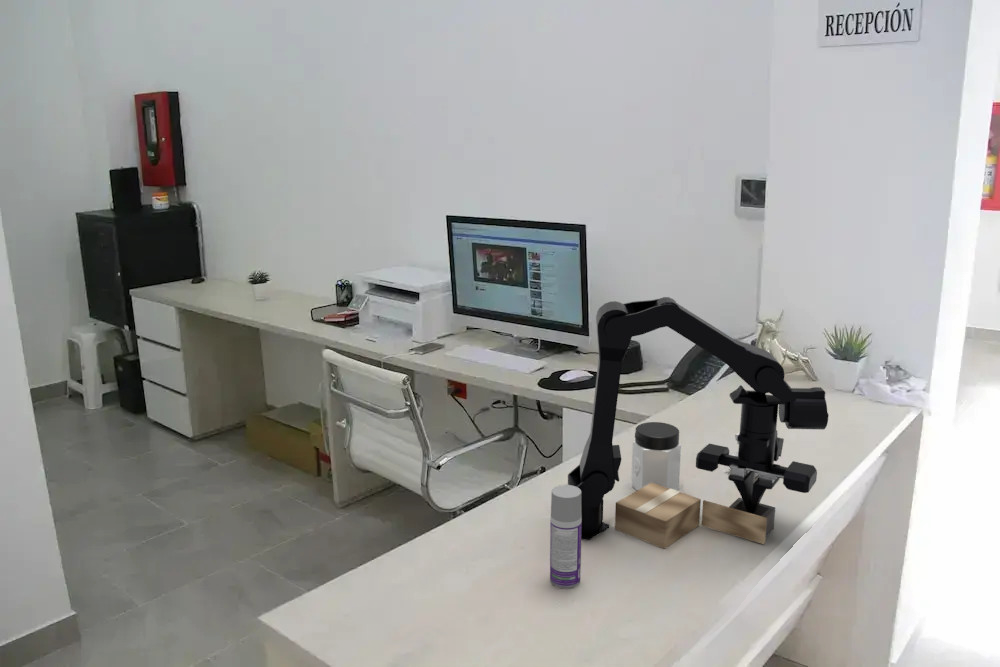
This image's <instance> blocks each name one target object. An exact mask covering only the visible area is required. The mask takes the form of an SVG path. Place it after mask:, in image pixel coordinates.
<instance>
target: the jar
mask: <svg viewBox="0 0 1000 667" xmlns="http://www.w3.org/2000/svg"><path fill="white" fill-rule="evenodd" d="M634 438H635V439H634V440H632V456H631V458H632V459H631V460H632V461H631V482H630V484H631V486H632V487H633V488H634V490H636V491H637V490H639V489H641V488H643V487H644V486H646V485H648V484H650V483H651V482H652V483H655V484H658V485H661V486H664V487H667V488H670V489H674V490H677V491H679V490H680V471H681V456H682V455H681V450H682V444H681V443H680V430H679V429H678V427H676V426H675V425H672V424H670V423H665V422H661V421H651V422H650V421H647V422H643V423H640V424H638V425H636V427H635V432H634Z"/></svg>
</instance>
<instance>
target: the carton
mask: <svg viewBox="0 0 1000 667" xmlns="http://www.w3.org/2000/svg"><path fill="white" fill-rule="evenodd" d="M701 503H702V500H701V498H699V497H696V496H692V495H689V494H687V493H684V492H681V491H679V490H674V489H670V488H667V487H664V486H661V485H658V484H655V483H652V482H651V483H650V484H648V485H646V486H644V487H643V488H641V489H639V490H636V491H634V492H632V493H630V494H629V495H627V496H625V497H623V498H622V499H620V500H617V501H616V502H615V510H614V511H615V512H614V514H615V515H614V516H615V517H614V530H615V531H618V532H621V533H623V534H626V535H629V536H631V537H633V538H636V539H639V540H640V541H641V540H642V541H644V542H647V543H649V544H651V545H654V546H655V547H657V548H658V547H659V548H661V549H667V548H668V547H670V546H671V545H673V544H674V543H676V542H677V541H678V540H680V539H681V538H683V537H685V536H686V535H687V534H689V533H690V532H692V531H693V530H695V529H696V528H698V527H699V526H700V518H701Z"/></svg>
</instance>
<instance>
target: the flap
mask: <svg viewBox="0 0 1000 667" xmlns="http://www.w3.org/2000/svg"><path fill="white" fill-rule="evenodd" d="M701 511H702V513H701V526H702V527H705V528H709V529H712V530H715V531H719V532H721V533H725V534H728V535H732V536H735V537H739V538H741V539H744V540H749V541H752V542H756V543H758V544H761V545H765V544H766V539H767V537H768V536H769V535H770V534H771V533H772V531H773V530H774V529H775V518H776V516H775V515H776V507H775V506H772V505H768V504H765V503H761V502H760V503H759V505H758V507H757V509H756V511H755V513H754V514H752V513H748V512H747V509H746V507H745V504H744V502H743V499H742V497H738V498H737V499H735V501H734V502H732V503H731V504H730V505H729V506H726V505H723V504H721V503H720V504H718V503H716V502H713V501H712V502H711V501H707V500H705V499H704V500H703V501H702V509H701Z"/></svg>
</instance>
